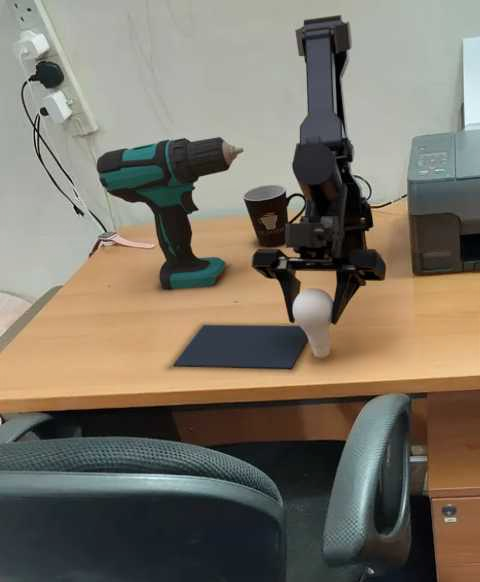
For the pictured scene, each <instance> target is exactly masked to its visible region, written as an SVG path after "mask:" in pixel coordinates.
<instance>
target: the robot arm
mask: <svg viewBox="0 0 480 582" xmlns="http://www.w3.org/2000/svg"><path fill="white" fill-rule="evenodd" d="M294 32H295V39H296V46H297V52H298V57H303V59H304V63H305V71H306V75H305V77H306V100H307V101H306V103H307V115H306V116H305V118H304V119H303V121H302V122H301V124H300V125H299V142H297V143H296V145H295V148H294V149H295V150H294V154H293V159H292V162H291V168H292V172H293V175H294V177H295V179H296V181H297V183H298V186H299V188H300V190H301V192H302V193H301V194H302V195H304V197H305V198H306V207H305V210H304V215H300V217H299V221H298V222H296V223H295V222H293V223H286V224H285V240H286V243H285V248H286V249H292V251H293V253H295V254H299V256H288V255H287V254H286V253H284V251H282V250H281V249H280V248H257V250H256V251H255V252H254V253H253V255H252V259H251V268H252V269H254V270H255V271H256V272H257V273H259V274H260V275H261V276H263V277H264V278H265V279H269V280H277V281H278V284H279V285H280V289H281V293H282V295H283V298H284V303H285V309H286V314H287V317H288V322H290V323H291V324H295V322H296V321H295V319H294V316H293V303H294V301H295V299H296V297H297V296H298V295H299V294H300V293H301V286H302V281H300V279H298V278H297V277H296V274H297V272H335V277H336V278H335V279H336V285H335V291H334V298H333V308H332V318H331V323H332V324H331V325H335V326H336V325H337V324H338V322H339V320H340V319H341V316H342V315H343V313H344V312H345V310H346V308H347V306H348V304H349V303H350V301H351V300H352V298H353V297H354V295H355V294H356V293H357V292H358V290H359V289H360V288H361V287H366V286H367V284H368V283H367V282H383V281H385V280H386V273H387V265H386V262H385V260H384V259H383V258H382V256H381V254H380V253H379V252H378V251H377V250H376V249H375V248H368V245H367V238H366V237H367V236H366V232H370V229H372V228H374V217H373V212H372V205H371V204H370V203H369V201H368V200H367V197H366V196H363V188H362V185H361V184H360V183H359V181H358V179H357V178H356V177H355V176H354V174H353V173H352V167H351V166H352V163H353V162H354V158H355V147H354V144H353V143H352V140H351V139H350V137H349V136H348V135H349V134H348V126H347V125H348V124H347V116H346V114H347V113H346V106H345V95H344V94H345V93H344V84H343V77H344V76H345V72H346V70H347V67H348V65H349V63H350V50H351V49H352V47H353V39H352V29H351V24H350V21H346V22H344V21H343V17H342V14H337V15H331V16H323V17H315V18H307V19H303V26H301V27H300V28H297V29H295V30H294Z"/></svg>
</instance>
